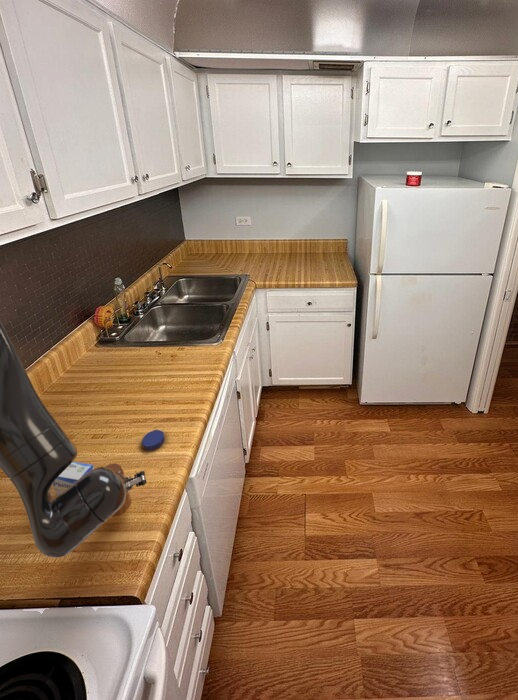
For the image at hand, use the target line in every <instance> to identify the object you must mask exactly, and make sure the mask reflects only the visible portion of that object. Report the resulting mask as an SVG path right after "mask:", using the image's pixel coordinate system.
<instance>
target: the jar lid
mask: <svg viewBox="0 0 518 700" xmlns="http://www.w3.org/2000/svg"><path fill="white" fill-rule="evenodd" d="M165 440H166V438H165V434H164V431H162V430H160V429H155V430H152V431H149V432H147V433H146V434H144V436H143V438H142V440H141V443H142V447H143V449H144V450H146V451H147V452H149V451H150V452H152V451H155V450H157V449H159V448H161V447H162V446H163V444H165Z"/></svg>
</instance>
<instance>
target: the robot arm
mask: <svg viewBox="0 0 518 700" xmlns="http://www.w3.org/2000/svg"><path fill="white" fill-rule="evenodd" d="M77 456H78V449H77V446H76V444H75V443H74V441H72V439H71V438H70V437H69V435H68V434H67V432H66V431H65V430H64V429H63V428H62V426H61V425H60V424H59V422H57V420H56V419H55V417H54V416H53V415H52V413H51V412H50V410H49V409H48V408H47V406H46V405H45V404H44V402H43V401H42V399H41V397H40V395H39V394H38V393H37V391H36V389H35V387H34V385H33V384H32V381H31V379H30V376H29V375H28V372H27V371H26V369H25V366H24V364H23V362H22V360H21V358H20V356H19V354H18V352H17V350H16V348H15V346H14V344H13V342H12V340H11V338H10V336H9V334H8V332H7V330H6V328H5V326H4V324H3V322H2V320H1V319H0V469H1V470H2V471H3V473H4V474H5V475H6V476H7V478H8V479H9V480H10V481H11V483H12V484H13V485H14V487H15V489H16V491H17V492H18V494H19V496H20V498H21V502H22V503H23V507H24V509H25V511H26V516H27V519H28V523H29V526H30V530H31V534H32V538H33V541H34V544H35V546H36V547H37V549H38V551H39V552H40V553H41V554H43V556H47V557H49V558H56V559H57V558H58V559H59V558H62V557H66V556H67V555H69V554H70V553H72V552H73V551H74V550H76V549H77V548H78V547H79V546H80V545H81V544H82V543H84V542H85V541H86V540H87V539H88V538H89V537H90V536H91V535H93V534H94V533H95V532H96V531H97V530H98V529H99V528H100V527H102V526H103V525H104V524H105V523H106V522H107V521H108V520H110V518H113V517H112V516H113V515H114V514H115V513H116V512H117V511H118V510H119V509H120V508H121V507H122V506H123V504H124V502H125V499H126V497H127V494H128V493H129V492H130V491H131V490H132V489H134V486H135V487H136V488H139V487H141V486H145V485H146V484H147V478H146V472H145V470H141V471H139V472H136V473H135V474H133V476H134V477H132V475H131V476H127V475H125V476H124V477H123V476H122V475H121V474H119V473H116V472H114V471H113V470H112V469H110V468H107V467H105V466H101V465H100V466H97V467H94V469H93V470H91V471H90V472H88V473H87V474H85V475H84V476H83V477H81V478H80V479H79V480H78V481H76V482H75V483H74V484H72V485H71V486H70V487H69V488H67V489H66V490H65V491H63V492H62V493H61V494H60V495H58V496H55V497H53V495H52V491H51V490H52V484H53V482H54V481H55V480H56V479H57V477H58V476H59V475H60V474H61V473H62V472H63V471H64V470H65V469H66V468H67V467H68V466H69V465H70V464H71V463H72V462H75V460H76V458H77Z"/></svg>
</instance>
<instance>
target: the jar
mask: <svg viewBox="0 0 518 700" xmlns="http://www.w3.org/2000/svg"><path fill="white" fill-rule="evenodd" d="M104 467H107V468H110V469H112V470H113V471H114V472H116V473H119V474H121V475H122V476H123V477H124V476H126V475H125V472H124V469H123V468H122V465H120V464H119V463H110V464H109V463H108V464H106V465H105V466H104ZM132 501H133V500H132V496H131V492H130V491H129V493H128V494H127V497H126V499H125V502H124V504H123V506H122V507H121V508H120V509H119V510H118V511H117V512H116V513H115V514H114V515H113V516H112V517H111V518H116V517H119V516H121V515H124V514H125V513H126V512H127V511H128V509H130V507H131V505H132Z"/></svg>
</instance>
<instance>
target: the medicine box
mask: <svg viewBox="0 0 518 700" xmlns="http://www.w3.org/2000/svg"><path fill="white" fill-rule="evenodd" d="M93 469H95V466H94V464H91V463H83V462H78V461H73V462H72V463H71V464H70V465H69V466H68V467H67V468H66V469H65V470H64V471H63V472H62V473H61V474H60V475H59V476H58V477H57V479H56V480H55V481H54V482H53V484H52V485H51V487H52V488H53V491H54V494H55V497H57V496H58V495H60V494H61V493H62V492H63V491H65V490H66V489H67V488H69V487H70V486H71V485H72V484H74V483H75V482H76V481H78V480H79V479H80V478H81V477H83V476H84V475H85V474H87V473H88V472H90V471H91V470H93Z"/></svg>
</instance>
